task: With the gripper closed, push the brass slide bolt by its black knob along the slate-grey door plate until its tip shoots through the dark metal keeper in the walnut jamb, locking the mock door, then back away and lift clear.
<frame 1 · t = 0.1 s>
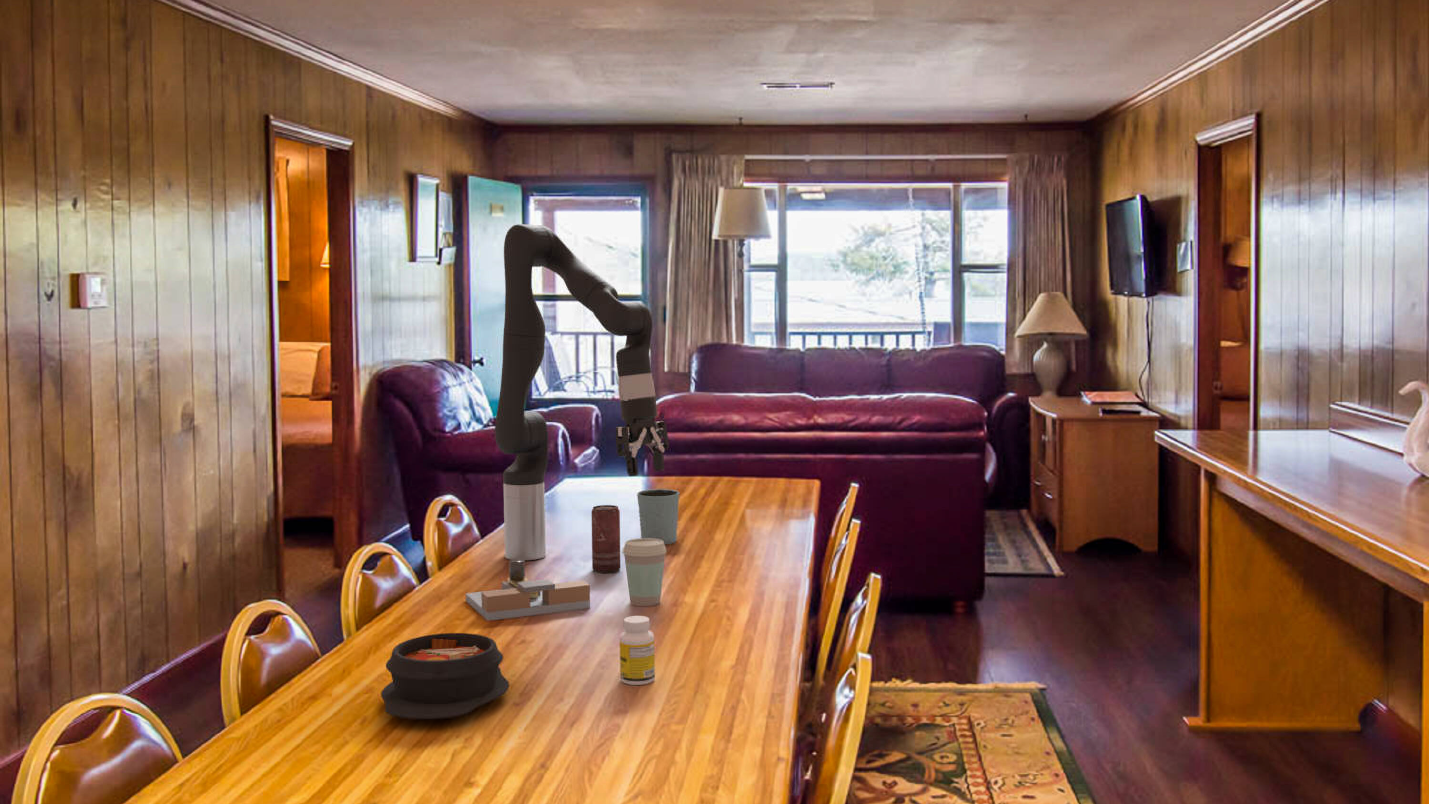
hand: (646, 473, 252), 22 cm above the table, tool pointing down, fingers open, 8 cm apart
coffee cup: (645, 603, 234), on the table
door plate: (527, 604, 233), on the table
bolt: (522, 578, 236), point 4 cm above the table, slide at 0.0 cm
supplement bottle: (637, 681, 188), on the table
can: (607, 571, 262), on the table
grey tapered cup: (658, 542, 292), on the table
casserole: (446, 702, 179), on the table
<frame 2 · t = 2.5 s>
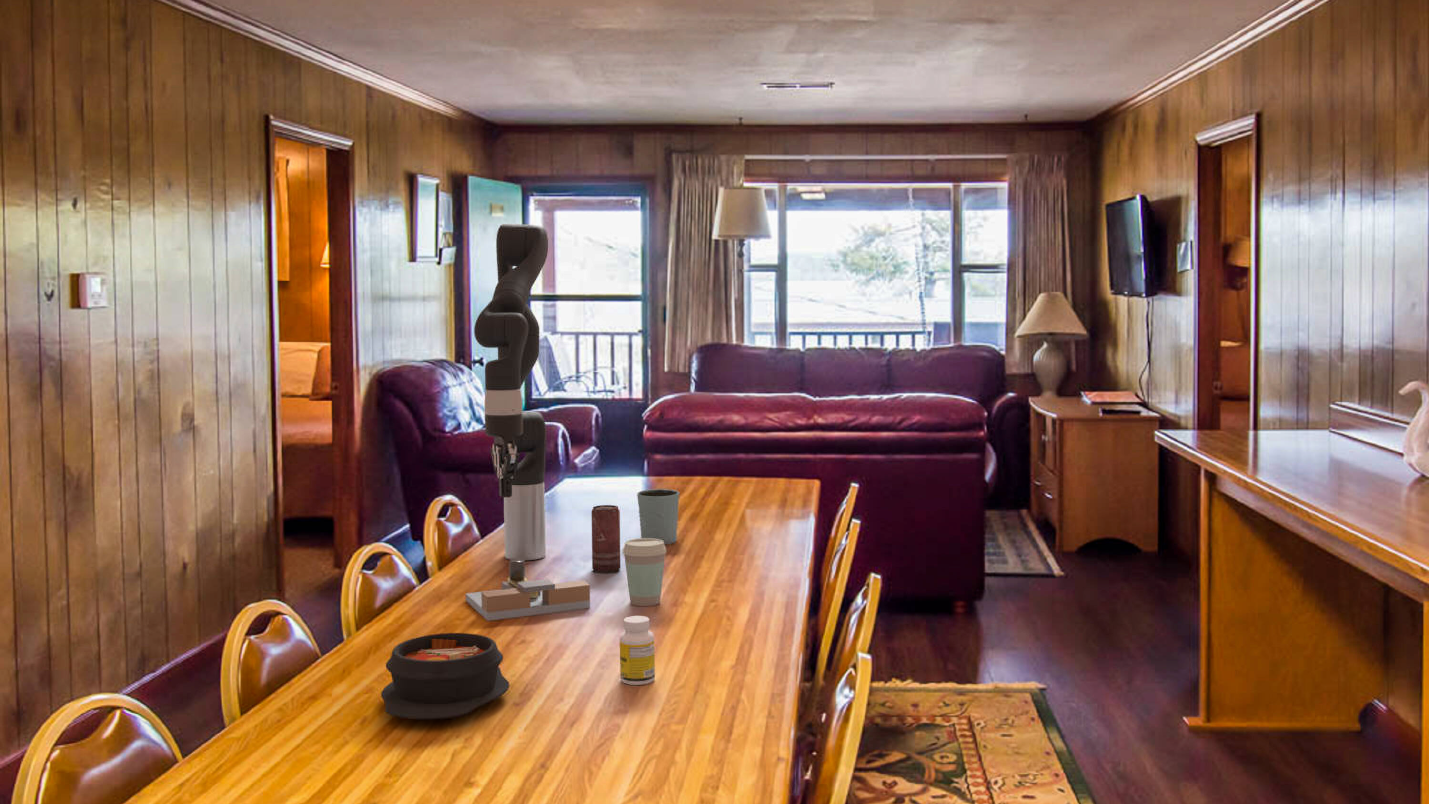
hand: (505, 496, 244), 19 cm above the table, tool pointing down, fingers closed
nothing on the table moved.
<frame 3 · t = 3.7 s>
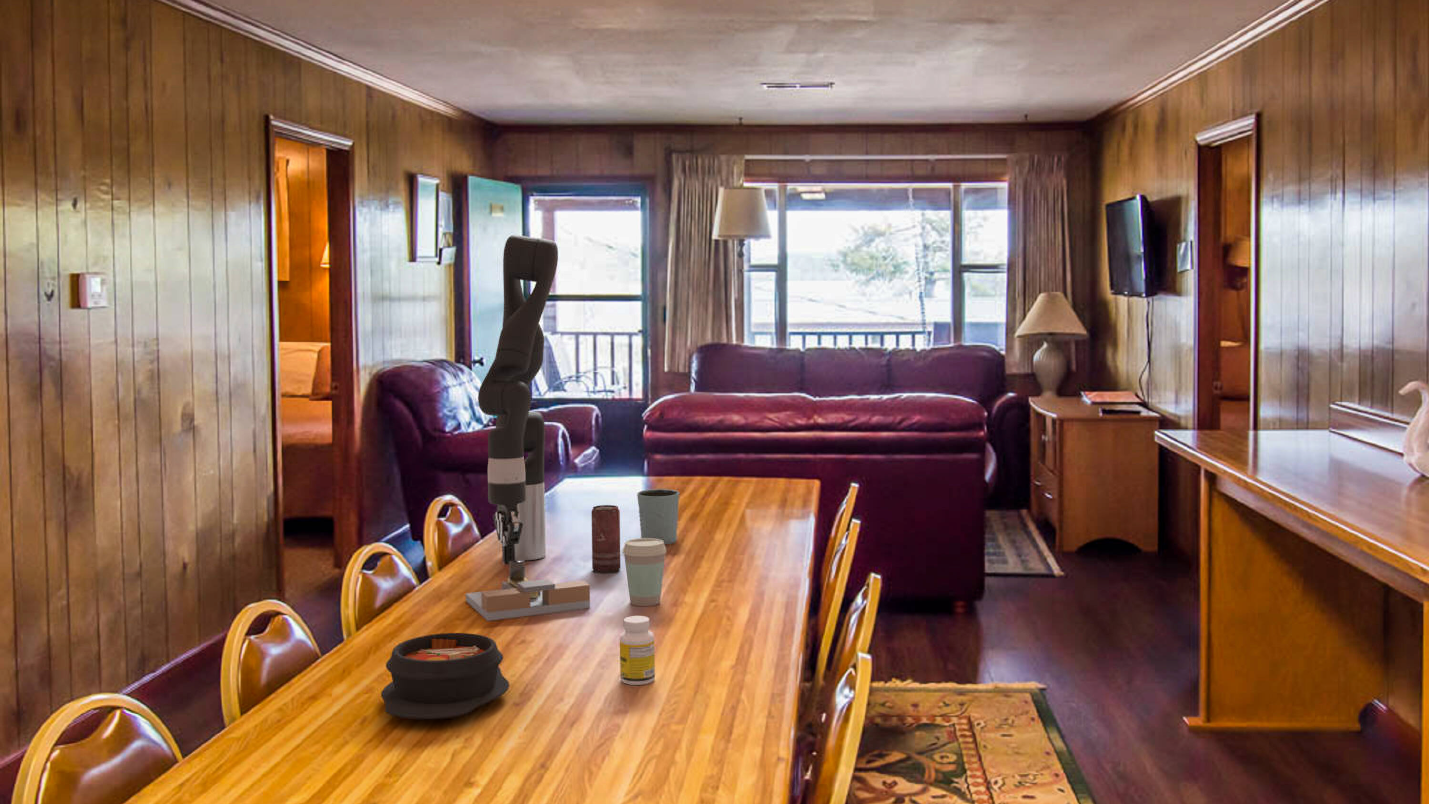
hand: (508, 563, 245), 5 cm above the table, tool pointing down, fingers closed
nothing on the table moved.
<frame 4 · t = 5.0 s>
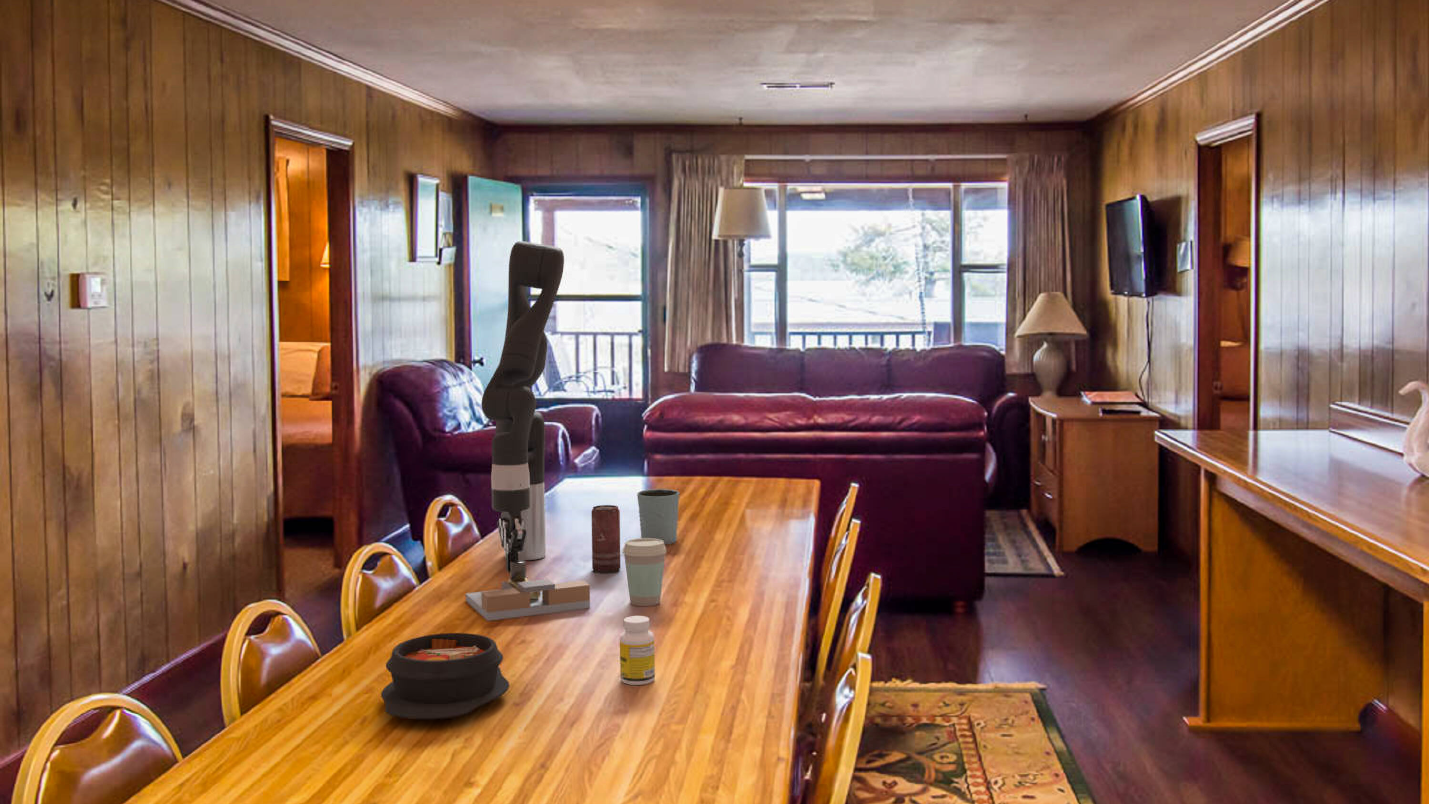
hand: (512, 570, 241), 5 cm above the table, tool pointing down, fingers closed
bolt: (523, 579, 235), point 4 cm above the table, slide at 0.8 cm, touching gripper
everything else where it was.
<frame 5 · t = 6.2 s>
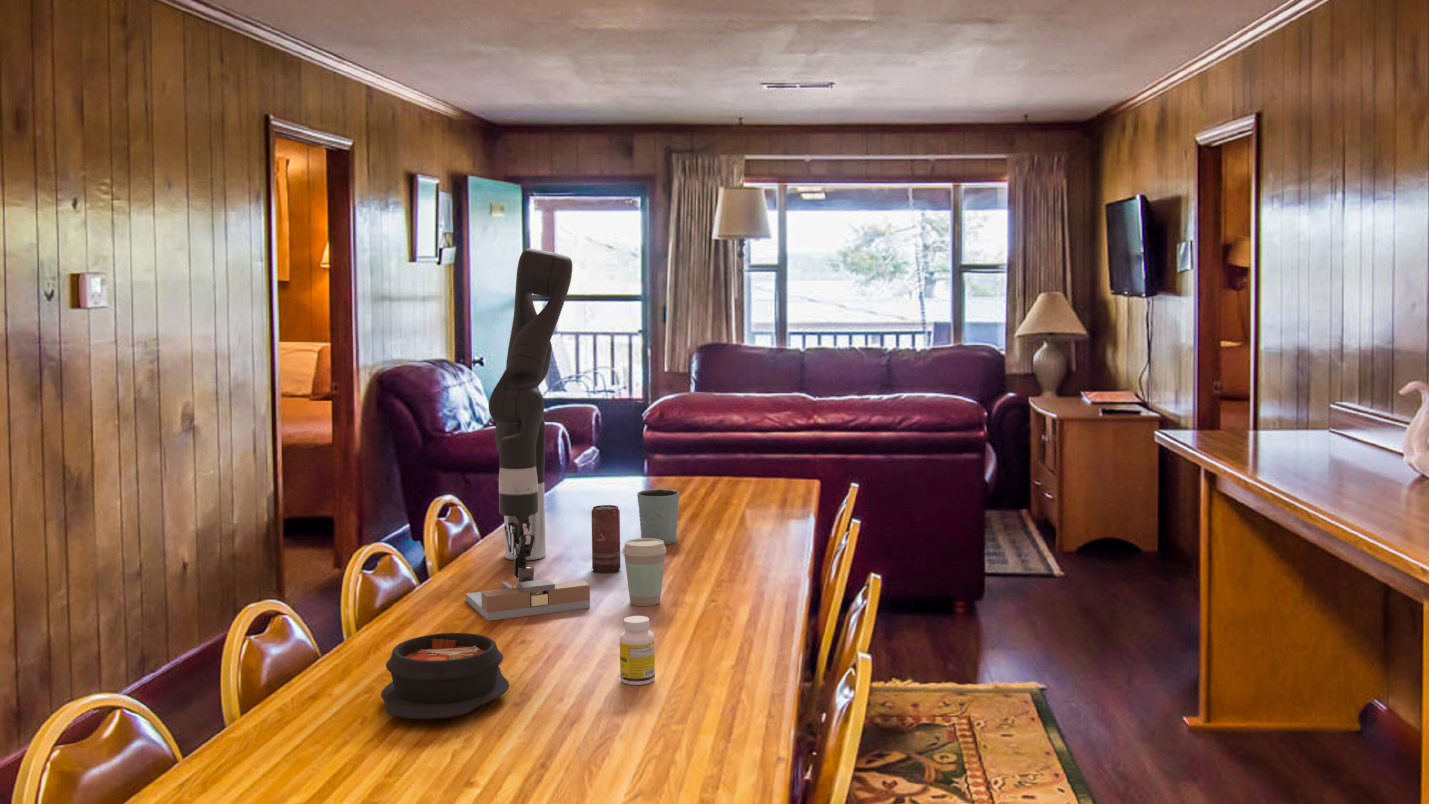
hand: (520, 576, 237), 5 cm above the table, tool pointing down, fingers closed
bolt: (531, 585, 230), point 4 cm above the table, slide at 6.1 cm, touching gripper
everything else where it was.
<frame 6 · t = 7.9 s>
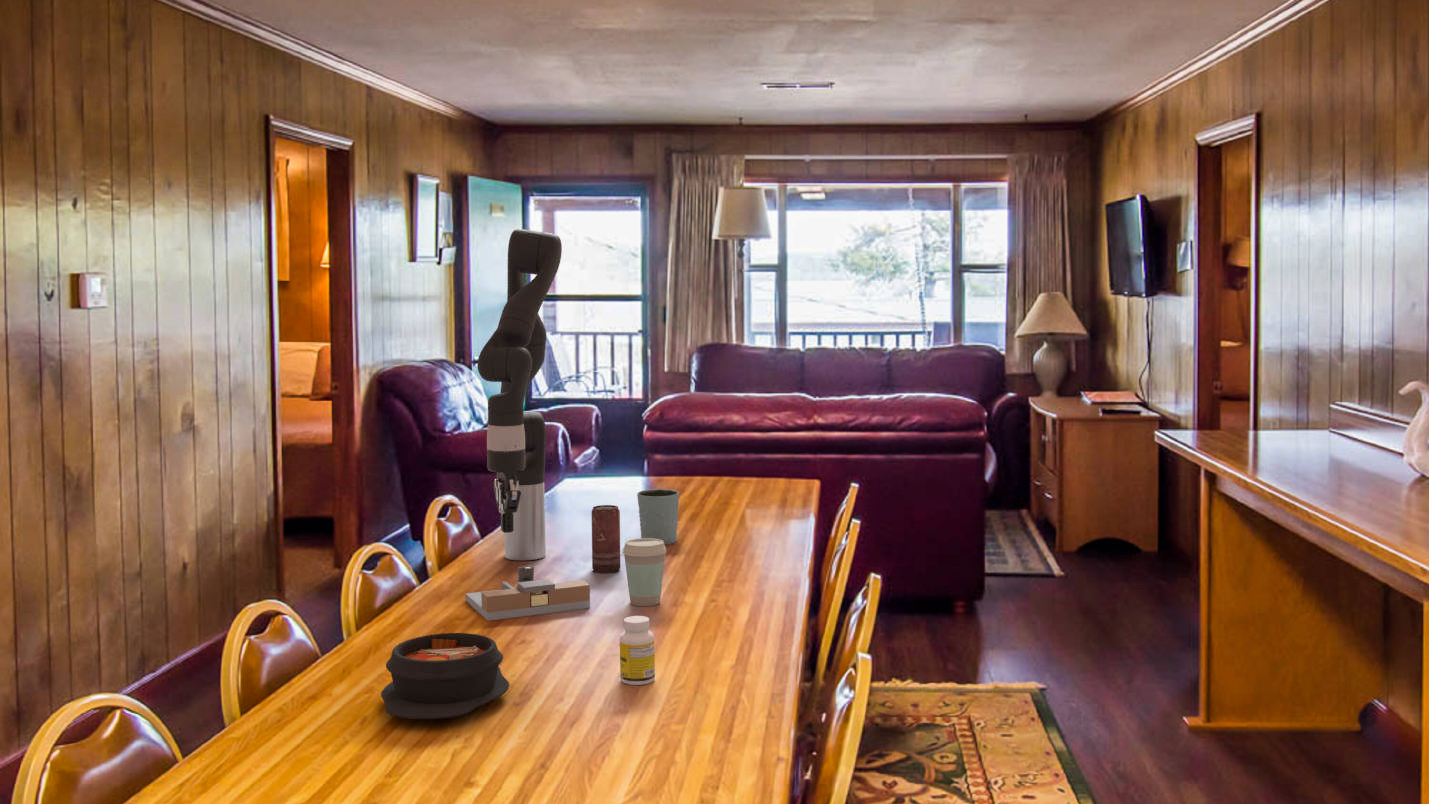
hand: (507, 531, 242), 12 cm above the table, tool pointing down, fingers closed
bolt: (531, 585, 230), point 4 cm above the table, slide at 6.0 cm
everything else where it was.
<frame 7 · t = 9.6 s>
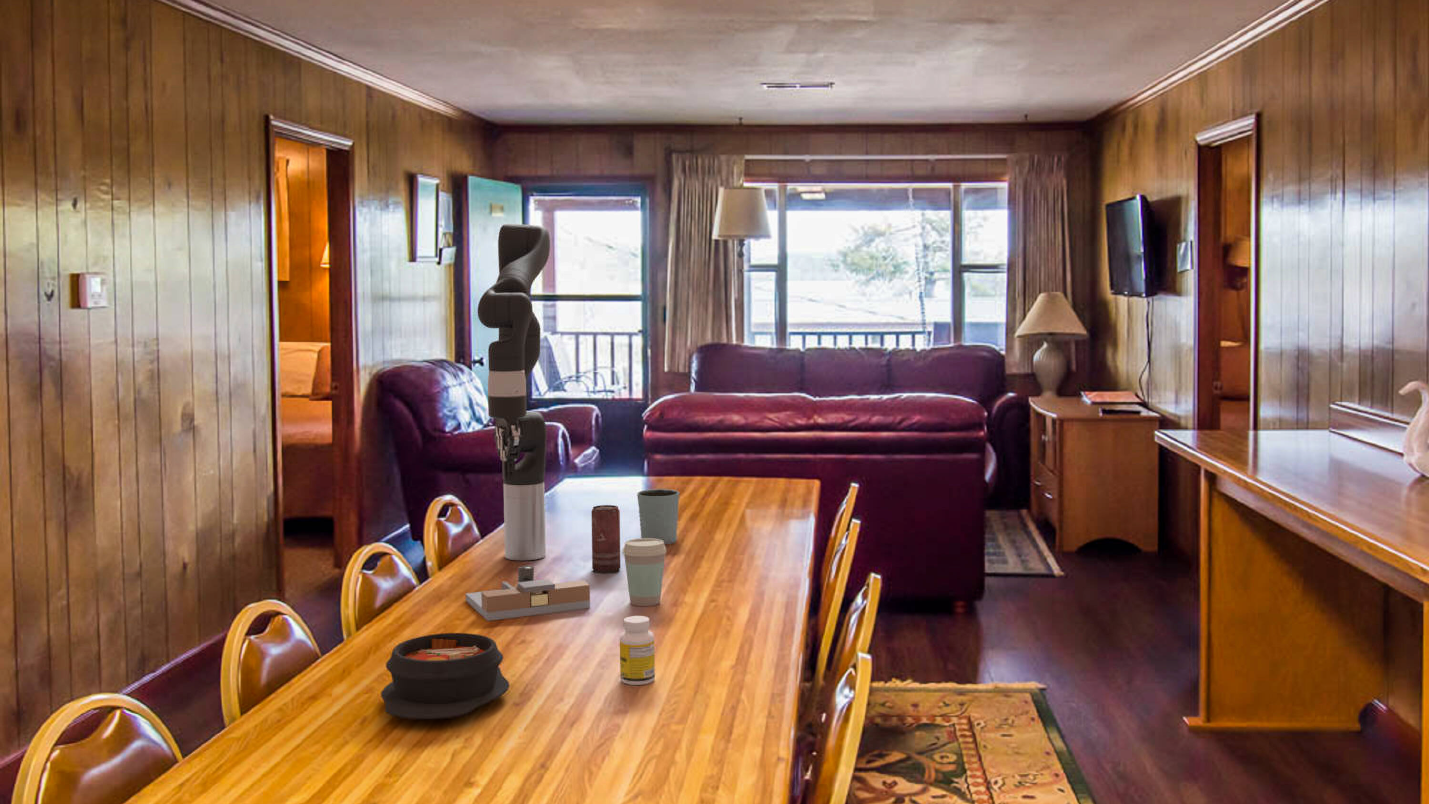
hand: (508, 479, 241), 23 cm above the table, tool pointing down, fingers closed
nothing on the table moved.
at the end: bolt slide at 6.0 cm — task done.
